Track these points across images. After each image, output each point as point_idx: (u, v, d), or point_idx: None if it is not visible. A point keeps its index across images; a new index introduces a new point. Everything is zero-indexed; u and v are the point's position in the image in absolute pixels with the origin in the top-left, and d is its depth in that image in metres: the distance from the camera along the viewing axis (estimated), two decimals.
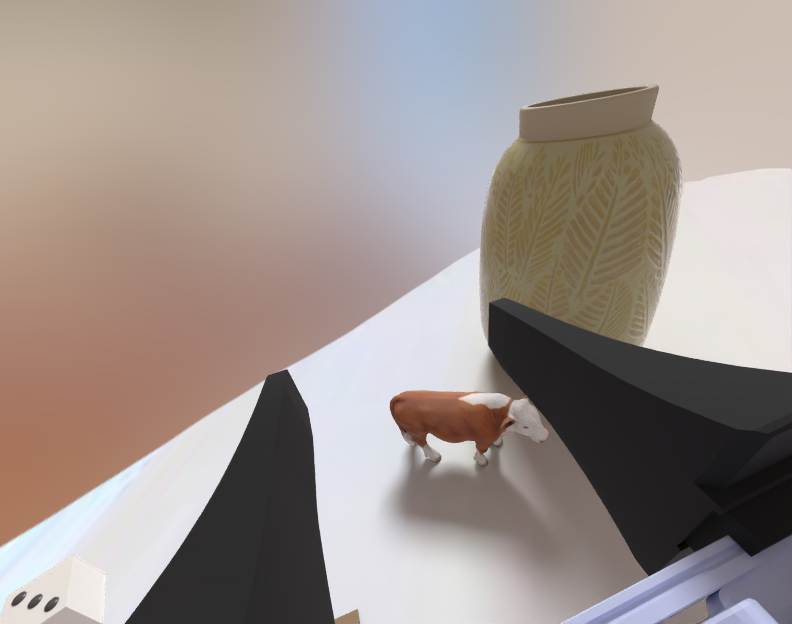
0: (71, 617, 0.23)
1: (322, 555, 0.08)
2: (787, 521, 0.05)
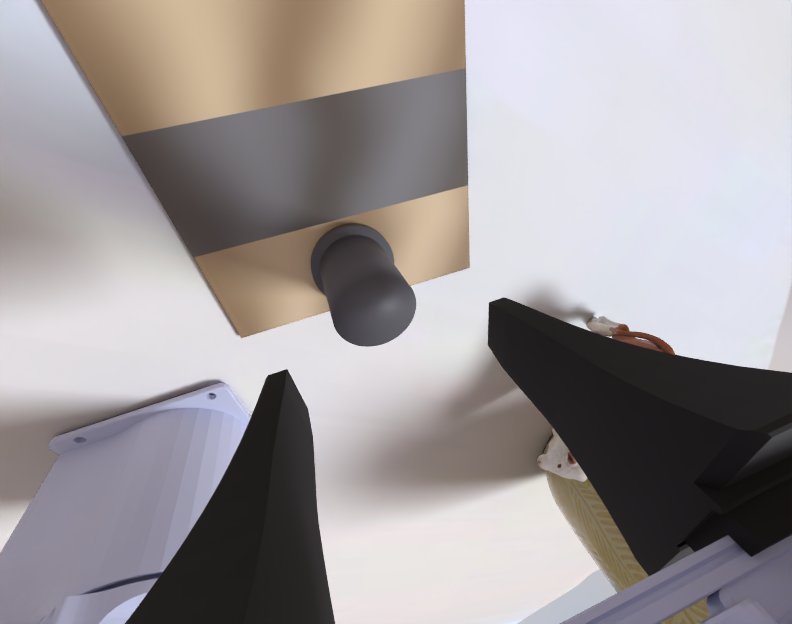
0: None
1: (322, 555, 0.08)
2: (787, 521, 0.05)
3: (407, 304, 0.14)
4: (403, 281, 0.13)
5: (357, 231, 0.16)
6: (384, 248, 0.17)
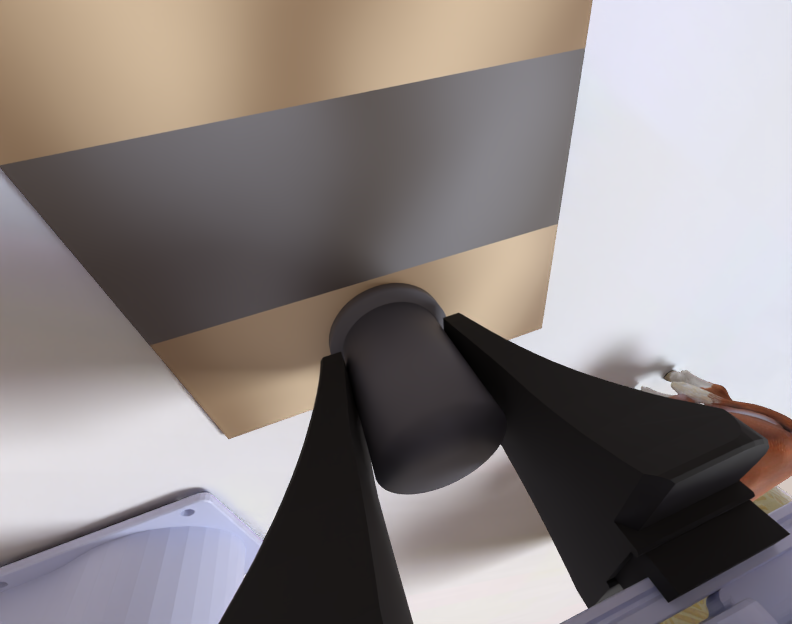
0: None
1: (386, 528, 0.08)
2: (705, 565, 0.05)
3: (492, 433, 0.08)
4: (494, 407, 0.08)
5: (401, 296, 0.10)
6: (436, 317, 0.11)
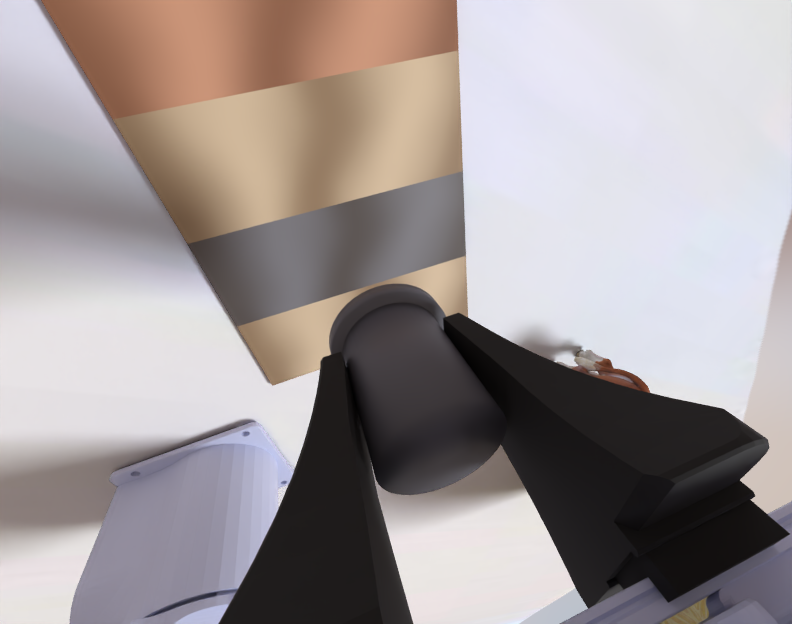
0: None
1: (386, 528, 0.08)
2: (705, 565, 0.05)
3: (492, 434, 0.08)
4: (494, 407, 0.08)
5: (401, 297, 0.10)
6: (436, 317, 0.11)
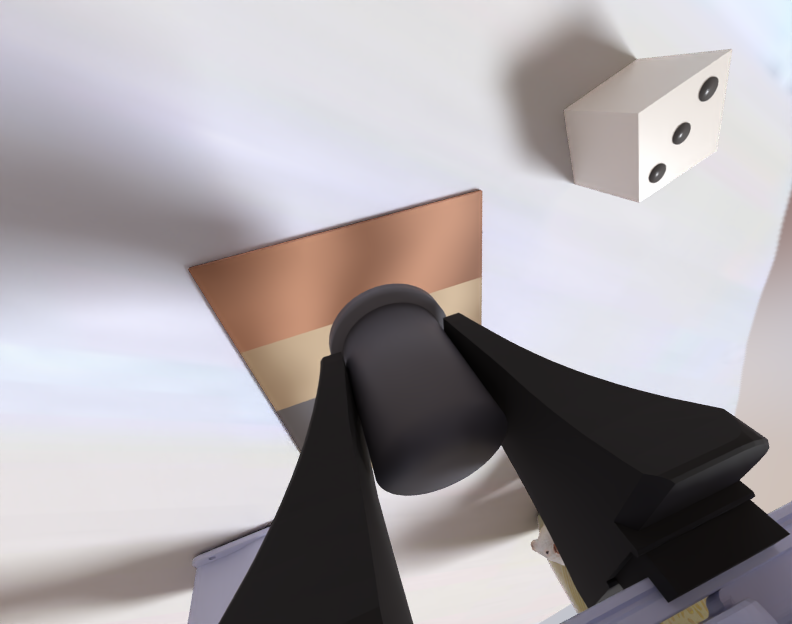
0: (615, 188, 0.15)
1: None
2: (705, 565, 0.05)
3: (493, 434, 0.08)
4: (495, 408, 0.08)
5: (401, 297, 0.10)
6: (436, 317, 0.11)
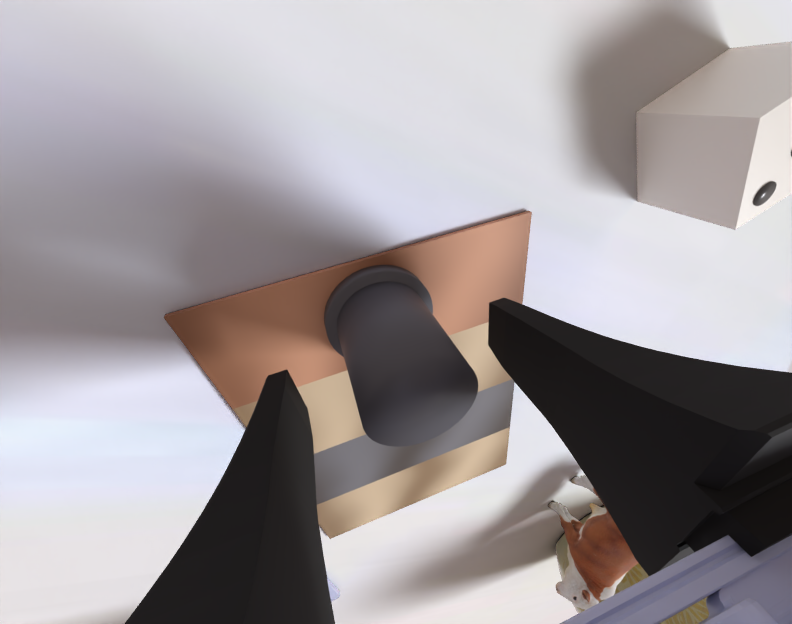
0: (699, 210, 0.12)
1: (322, 555, 0.08)
2: (787, 521, 0.05)
3: (466, 391, 0.09)
4: (465, 365, 0.09)
5: (388, 276, 0.12)
6: (421, 296, 0.13)
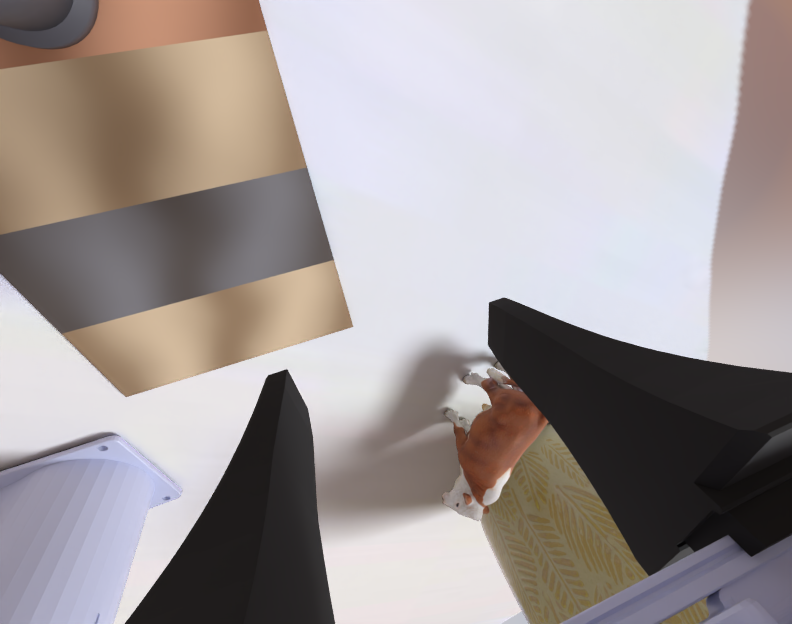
0: None
1: (322, 555, 0.08)
2: (787, 521, 0.05)
3: None
4: None
5: None
6: None
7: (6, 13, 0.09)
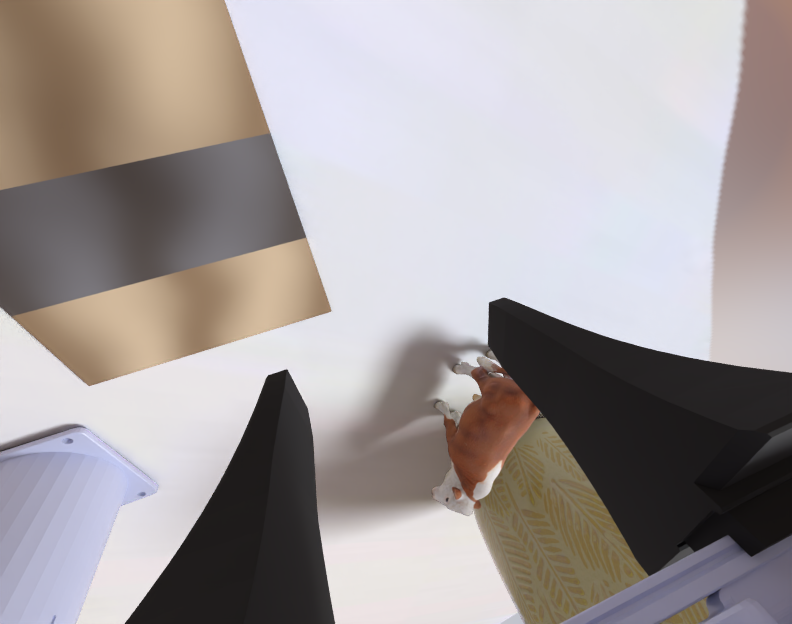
0: None
1: (322, 555, 0.08)
2: (787, 521, 0.05)
3: None
4: None
5: None
6: None
7: None
